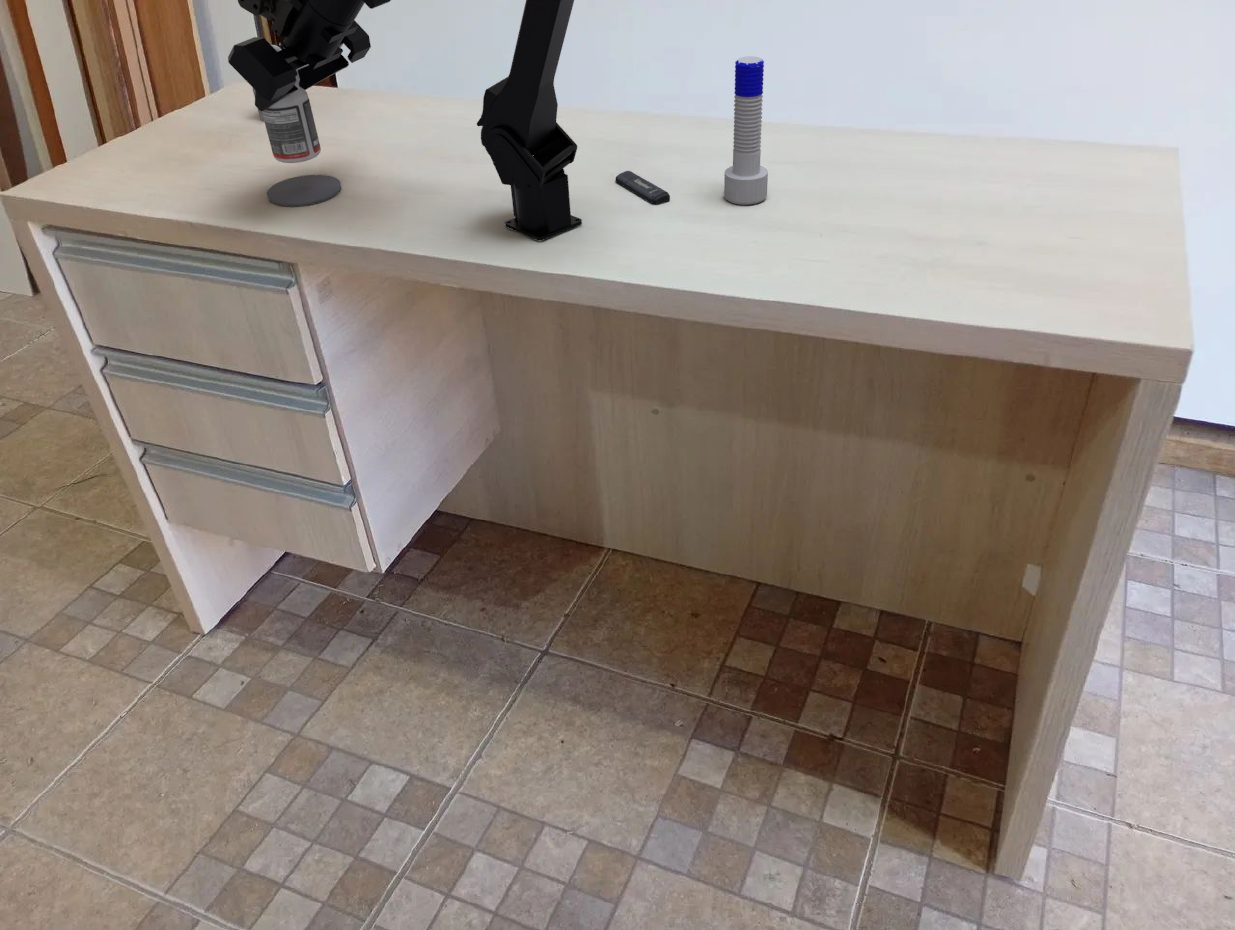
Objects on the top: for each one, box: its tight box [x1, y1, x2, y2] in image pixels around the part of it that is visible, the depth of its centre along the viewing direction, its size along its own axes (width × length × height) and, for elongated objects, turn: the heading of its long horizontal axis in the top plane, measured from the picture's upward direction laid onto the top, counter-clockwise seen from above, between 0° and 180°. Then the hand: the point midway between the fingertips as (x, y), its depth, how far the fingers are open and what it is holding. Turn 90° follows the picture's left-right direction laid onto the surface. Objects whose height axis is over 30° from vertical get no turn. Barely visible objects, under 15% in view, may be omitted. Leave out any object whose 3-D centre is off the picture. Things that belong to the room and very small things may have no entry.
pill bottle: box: [262, 71, 322, 164], centre depth 122 cm, size 6×6×10 cm
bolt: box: [723, 56, 769, 206], centre depth 116 cm, size 16×5×5 cm
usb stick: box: [615, 170, 671, 206], centre depth 123 cm, size 10×3×2 cm, turn 30°
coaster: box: [266, 174, 342, 208], centre depth 128 cm, size 9×9×1 cm
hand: (275, 100), depth 122 cm, fingers closed on pill bottle, 6 cm apart
